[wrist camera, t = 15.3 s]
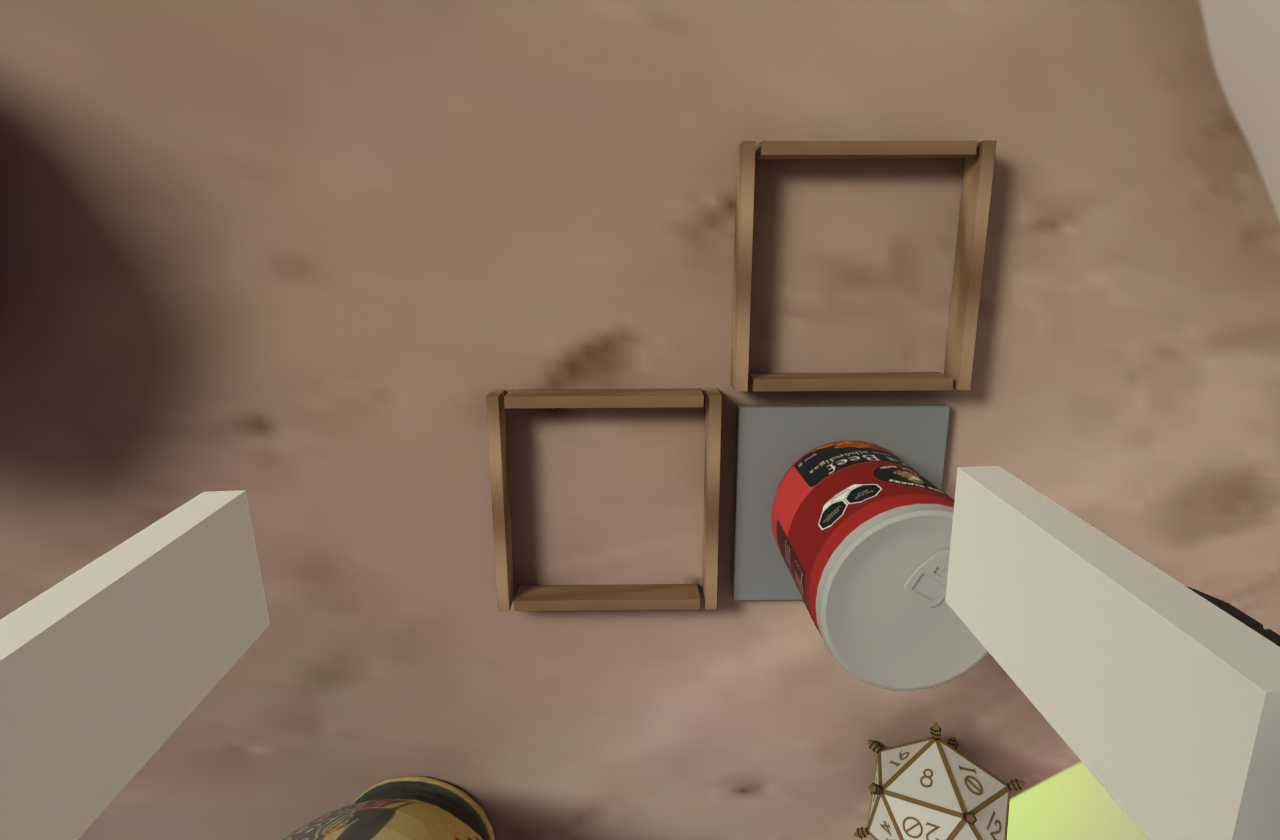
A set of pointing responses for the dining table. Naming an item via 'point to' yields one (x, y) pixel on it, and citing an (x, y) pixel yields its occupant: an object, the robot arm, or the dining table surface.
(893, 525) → the canned food
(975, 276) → the empty crate
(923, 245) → the dining table surface
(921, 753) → the game die
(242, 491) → the robot arm
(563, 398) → the frame
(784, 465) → the slate board
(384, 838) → the amphora
